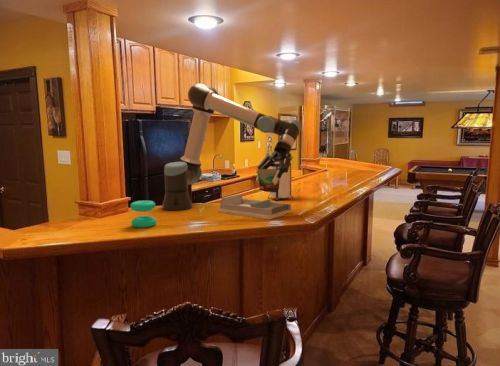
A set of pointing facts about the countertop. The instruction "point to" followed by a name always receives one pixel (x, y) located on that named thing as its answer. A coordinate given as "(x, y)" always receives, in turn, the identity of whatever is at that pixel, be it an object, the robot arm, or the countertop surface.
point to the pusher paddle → (261, 204)
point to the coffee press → (282, 183)
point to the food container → (267, 179)
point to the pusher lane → (252, 208)
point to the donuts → (143, 220)
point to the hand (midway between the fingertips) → (265, 182)
